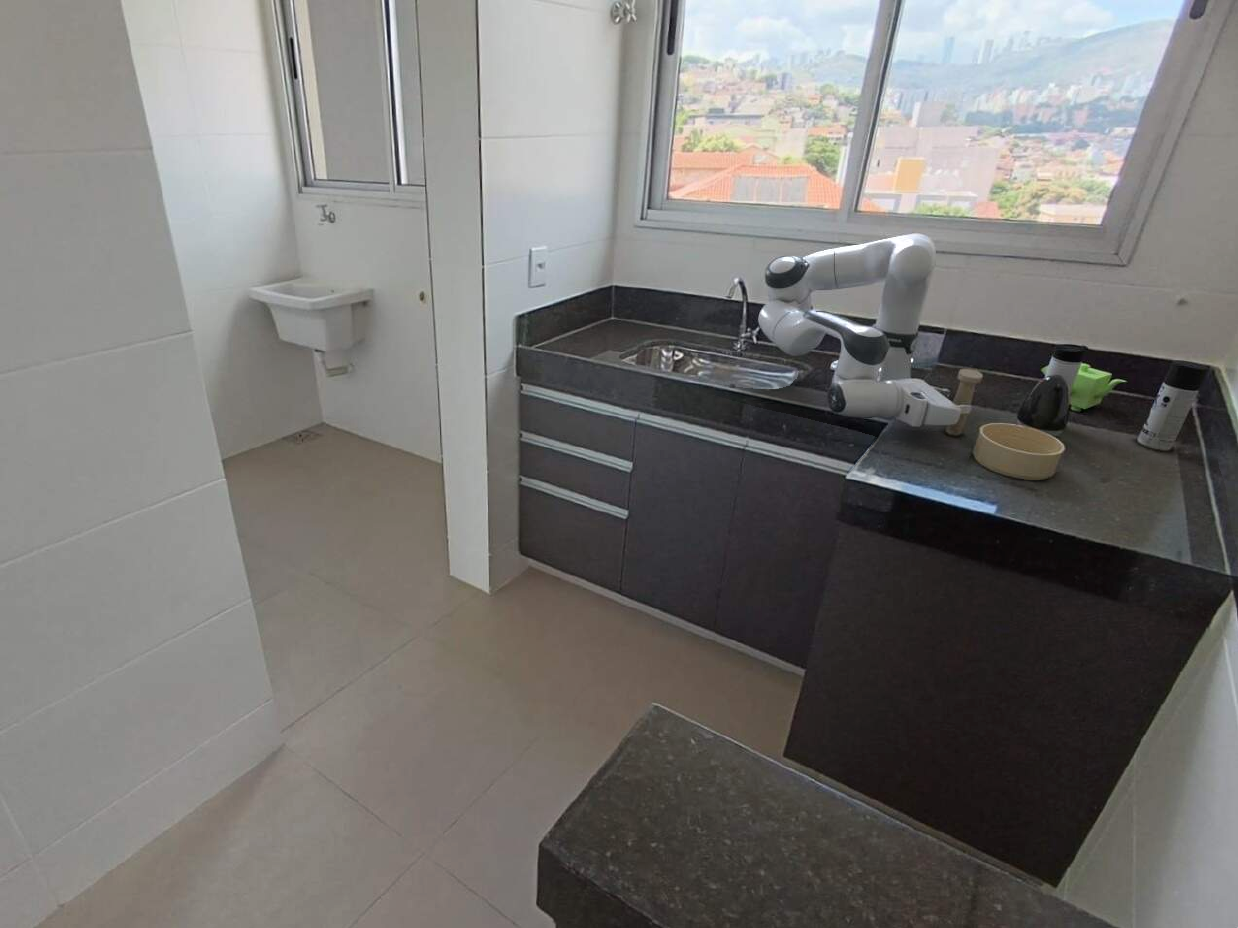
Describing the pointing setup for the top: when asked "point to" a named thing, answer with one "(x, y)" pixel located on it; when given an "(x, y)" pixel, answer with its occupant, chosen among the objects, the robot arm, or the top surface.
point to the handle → (964, 397)
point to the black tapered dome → (1047, 406)
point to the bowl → (1018, 451)
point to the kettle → (1089, 387)
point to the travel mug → (1066, 362)
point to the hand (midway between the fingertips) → (958, 400)
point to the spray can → (1172, 404)
